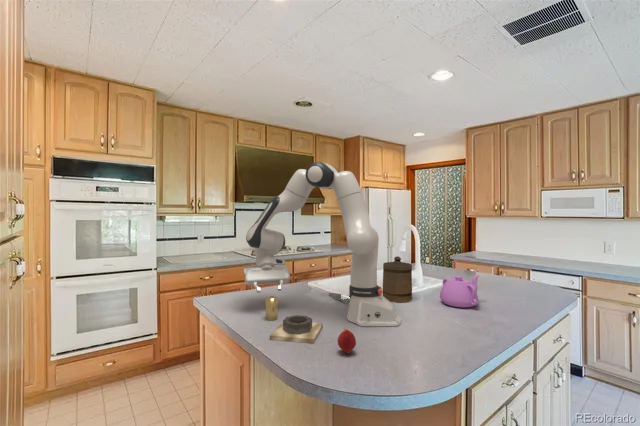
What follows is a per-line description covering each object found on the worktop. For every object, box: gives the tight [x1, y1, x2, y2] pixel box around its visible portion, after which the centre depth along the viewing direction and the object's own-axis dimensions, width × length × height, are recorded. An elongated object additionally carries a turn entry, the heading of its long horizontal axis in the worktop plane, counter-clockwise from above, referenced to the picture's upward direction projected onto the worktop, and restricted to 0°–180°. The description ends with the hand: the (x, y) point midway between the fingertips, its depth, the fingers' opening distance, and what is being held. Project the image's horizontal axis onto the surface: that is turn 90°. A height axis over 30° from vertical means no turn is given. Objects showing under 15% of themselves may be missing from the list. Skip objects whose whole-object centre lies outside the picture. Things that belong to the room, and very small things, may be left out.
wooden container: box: [382, 256, 413, 303], centre depth 167 cm, size 15×15×22 cm
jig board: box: [269, 314, 324, 344], centre depth 120 cm, size 16×16×5 cm
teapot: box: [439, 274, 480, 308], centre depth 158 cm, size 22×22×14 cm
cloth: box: [328, 292, 350, 305], centre depth 167 cm, size 26×14×2 cm, turn 13°
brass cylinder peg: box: [265, 295, 279, 322], centre depth 136 cm, size 5×5×9 cm
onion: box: [337, 327, 357, 354], centre depth 103 cm, size 6×6×8 cm
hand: (269, 291), depth 142 cm, fingers open, 8 cm apart
